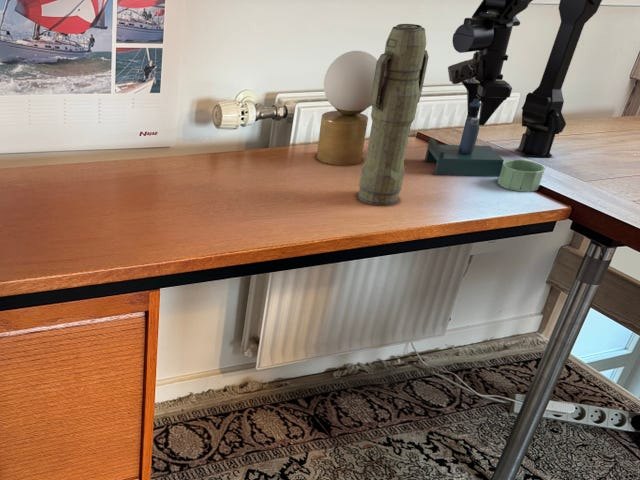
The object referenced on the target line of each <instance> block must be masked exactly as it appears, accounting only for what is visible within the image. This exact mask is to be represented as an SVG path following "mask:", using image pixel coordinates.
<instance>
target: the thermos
mask: <svg viewBox="0 0 640 480" xmlns="http://www.w3.org/2000/svg"><path fill="white" fill-rule="evenodd" d="M426 35H427V33H426V28H425V27H422V25H420V24H415V23H398V24H396V26H393V27H392V28H391V31H390V32H389V34H388V36H387V39H386V42H385V45H384V46H385V47H384V52H383V53H381V54H380V56H378V58H377V60H378V61H377V63H376V69H375V76H374V82H373V88H372V94H371V100H370V104H371V106H370V107H372V108H371V112H370V117H371V118H370V119H371V121H372V122H371V127H370V133H369V139H368V143H367V151H366V157H365V162H364V163H363V165H362V167H361V170H360V177H359V182H358V183H359V184H358V187H359V191H358V194H357V198H358V200H359V201H361V202H363V203H365V204H369V205H373V206H391V205H395V204H396V203H398V201H399V198H400V197H399V196H400V192H401V190H402V186H403V181H404V176H405V165H404V162H405V157H406V154H407V153H406V152H407V148H408V141H409V137H410V132H411V127H412V124H413V122H414V120H415V118H416V114H417V109H418V105H419V103H420V99H421V96H422V92H423V87H424V81H425V77H426V73H427V67H428V61H429V57H430V56H429V53H428V50H426V47H427V36H426Z"/></svg>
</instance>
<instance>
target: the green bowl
mask: <svg viewBox="0 0 640 480" xmlns="http://www.w3.org/2000/svg"><path fill="white" fill-rule="evenodd" d="M545 169H546V167H545V166H544V165H543V164H541V163H537V162H535V161H530V160H525V159H510V160H509V159H508V160H504V162H503V165H502V169H501V173H500V176H498V180H497V184H498V185H499V186H500V187H502V188H505V189H506V190H511V191H516V192H527V193H530V192H536V191H538V189H539V188H540V185H541V183H542V180H543V176H544V173H545Z"/></svg>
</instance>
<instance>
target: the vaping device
mask: <svg viewBox="0 0 640 480" xmlns="http://www.w3.org/2000/svg"><path fill="white" fill-rule="evenodd" d="M478 101H479V99H474V101H473V102H471V103H470V106H469V110H468V109H467V115H466V119H465V122H464V125H463V129H462V134H461V138H460V142H459V145H460V146H459V150H460V151H461V152H462V154H465V155H471V154H472V153H473V151H474V148H475V145H477V139H478V136H479V132H480V125H479V114H480V106H481V102H479V103H478Z"/></svg>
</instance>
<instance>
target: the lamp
mask: <svg viewBox="0 0 640 480" xmlns="http://www.w3.org/2000/svg"><path fill="white" fill-rule="evenodd" d="M377 61H378V58H376V57H375V56H374V55H373V54H371V53H369V52H367V51H363V50H350V51H347V52H344V53H342V54H341V55H339V56H338V57H336V58H335V59H333V61H332V62H331V63H330V65H329V67H328V68H327V70H326V73H325V75H324V78H323V91H324V96H325V97H326V100H327V101H328V103H329V104H330V105H331V106H332V107H333V108H334V109H335V110H331V111H326V112H324V113H322V114H321V118H320V127H319V135H318V142H317V150H316V151H317V152H316V159H317V160H318V161H320V162H322V163H325V164H327V165H328V164H329V165H334V166H351V165H356V164H360V162H361V161H362V159H363V152H364V147H365V141H366V135H367V130H368V129H367V127H368V123H369V117H368V116H367V115H366V114H365V113H363V112H365V111H366V110H367V109H369V108H370V107H372V106H371V104H370V100H371V94H372V88H373V82H374V76H375V69H376V63H377Z"/></svg>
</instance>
